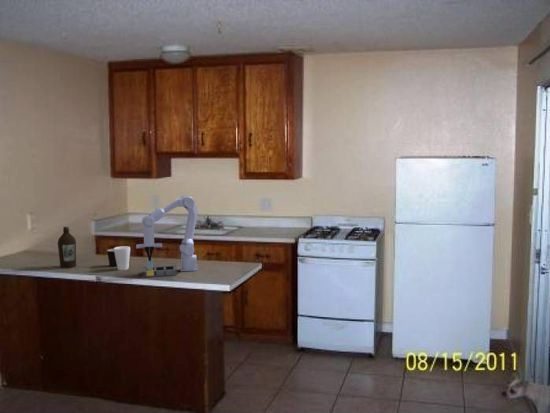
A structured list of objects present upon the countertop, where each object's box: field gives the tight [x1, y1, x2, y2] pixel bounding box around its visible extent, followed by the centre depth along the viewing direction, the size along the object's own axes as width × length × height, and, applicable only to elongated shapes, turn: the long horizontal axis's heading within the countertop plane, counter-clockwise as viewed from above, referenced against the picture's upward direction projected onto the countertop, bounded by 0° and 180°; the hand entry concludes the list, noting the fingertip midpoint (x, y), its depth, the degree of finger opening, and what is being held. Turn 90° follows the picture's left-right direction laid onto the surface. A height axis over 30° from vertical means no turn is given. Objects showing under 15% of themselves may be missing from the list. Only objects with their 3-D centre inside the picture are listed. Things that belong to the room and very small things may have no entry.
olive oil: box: [57, 226, 77, 269], centre depth 356 cm, size 11×11×25 cm
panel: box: [146, 257, 154, 271], centre depth 332 cm, size 3×8×8 cm, turn 11°
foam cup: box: [113, 245, 131, 271], centre depth 348 cm, size 10×9×13 cm
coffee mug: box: [106, 248, 117, 268], centre depth 358 cm, size 12×9×10 cm
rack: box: [142, 264, 178, 278], centre depth 333 cm, size 19×13×3 cm
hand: (149, 259), depth 331 cm, fingers closed, pressing on panel
